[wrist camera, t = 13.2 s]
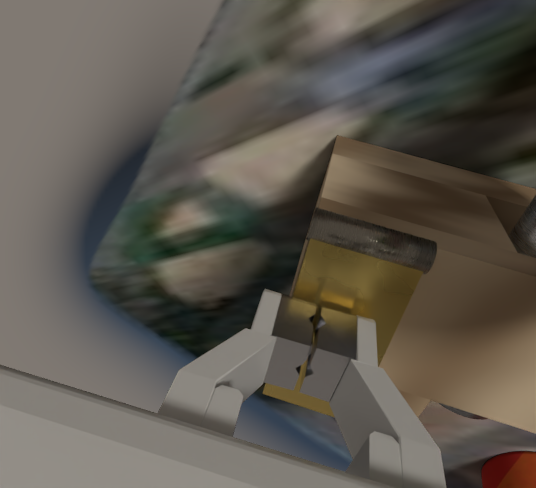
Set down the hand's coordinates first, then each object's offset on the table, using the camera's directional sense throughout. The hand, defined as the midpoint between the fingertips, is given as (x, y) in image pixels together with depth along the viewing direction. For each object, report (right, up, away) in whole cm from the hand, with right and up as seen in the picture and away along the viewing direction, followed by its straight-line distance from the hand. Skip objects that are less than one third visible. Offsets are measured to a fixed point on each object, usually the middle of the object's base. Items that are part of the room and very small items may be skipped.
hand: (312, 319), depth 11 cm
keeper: (+1, 0, +1) cm, 1 cm away
